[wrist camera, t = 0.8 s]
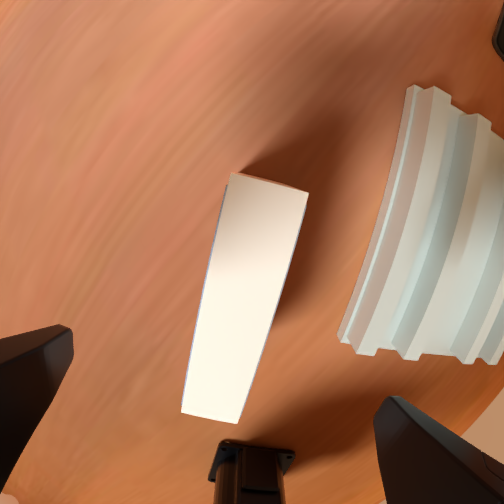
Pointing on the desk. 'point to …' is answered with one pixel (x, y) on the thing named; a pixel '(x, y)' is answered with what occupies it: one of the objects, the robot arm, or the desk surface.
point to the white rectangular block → (241, 293)
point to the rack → (435, 241)
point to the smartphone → (499, 36)
